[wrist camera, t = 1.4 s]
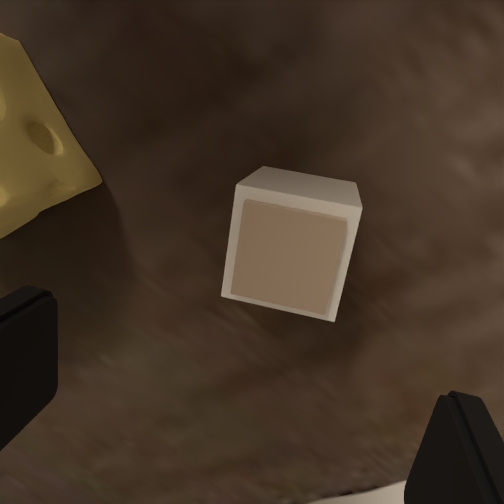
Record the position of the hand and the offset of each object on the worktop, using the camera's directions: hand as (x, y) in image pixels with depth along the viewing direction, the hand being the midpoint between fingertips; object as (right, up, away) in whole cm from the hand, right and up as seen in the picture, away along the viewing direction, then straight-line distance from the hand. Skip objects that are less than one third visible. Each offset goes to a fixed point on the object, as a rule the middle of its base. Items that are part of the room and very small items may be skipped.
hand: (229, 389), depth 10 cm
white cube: (+3, +5, +15) cm, 17 cm away
